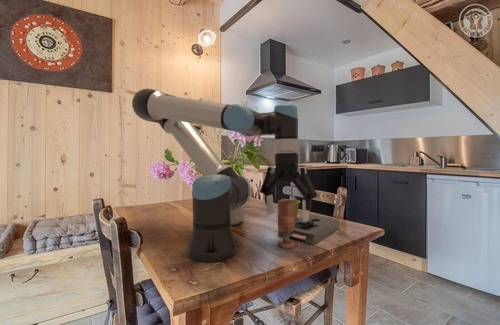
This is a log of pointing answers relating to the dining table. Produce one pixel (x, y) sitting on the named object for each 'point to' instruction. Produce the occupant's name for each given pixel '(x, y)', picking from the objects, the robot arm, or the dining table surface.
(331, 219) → the slot bracket
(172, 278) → the dining table surface
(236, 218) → the teacup
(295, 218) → the plant pot
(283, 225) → the peg
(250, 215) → the dining table surface
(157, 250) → the dining table surface
